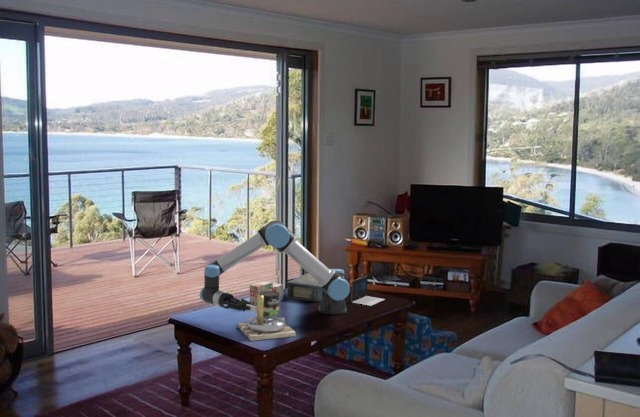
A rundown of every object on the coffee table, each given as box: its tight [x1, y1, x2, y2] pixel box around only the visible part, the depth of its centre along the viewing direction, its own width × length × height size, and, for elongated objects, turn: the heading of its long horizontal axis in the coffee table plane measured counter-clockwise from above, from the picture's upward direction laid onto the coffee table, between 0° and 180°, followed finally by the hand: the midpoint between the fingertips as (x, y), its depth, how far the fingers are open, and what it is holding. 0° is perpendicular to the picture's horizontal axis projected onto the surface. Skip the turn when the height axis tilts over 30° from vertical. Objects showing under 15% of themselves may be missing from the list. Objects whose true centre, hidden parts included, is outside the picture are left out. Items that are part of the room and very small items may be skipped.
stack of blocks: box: [249, 280, 284, 307], centre depth 374 cm, size 21×6×12 cm, turn 142°
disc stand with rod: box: [247, 295, 286, 333], centre depth 321 cm, size 18×18×17 cm
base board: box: [238, 322, 296, 342], centre depth 322 cm, size 22×22×2 cm
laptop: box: [350, 275, 386, 307], centre depth 382 cm, size 18×12×13 cm
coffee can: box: [259, 291, 280, 317], centre depth 341 cm, size 10×10×14 cm
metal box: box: [286, 272, 322, 303], centre depth 396 cm, size 21×32×10 cm, turn 156°
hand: (256, 309), depth 316 cm, fingers closed
